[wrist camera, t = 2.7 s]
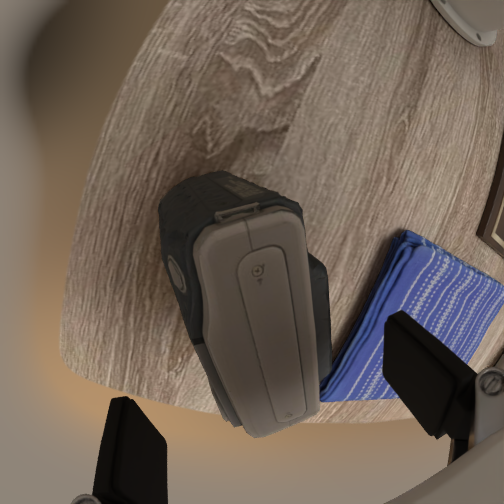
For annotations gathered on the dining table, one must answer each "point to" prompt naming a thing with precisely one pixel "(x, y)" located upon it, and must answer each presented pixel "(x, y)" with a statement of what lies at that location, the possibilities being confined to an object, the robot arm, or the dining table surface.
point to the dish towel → (413, 314)
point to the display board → (495, 211)
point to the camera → (249, 298)
